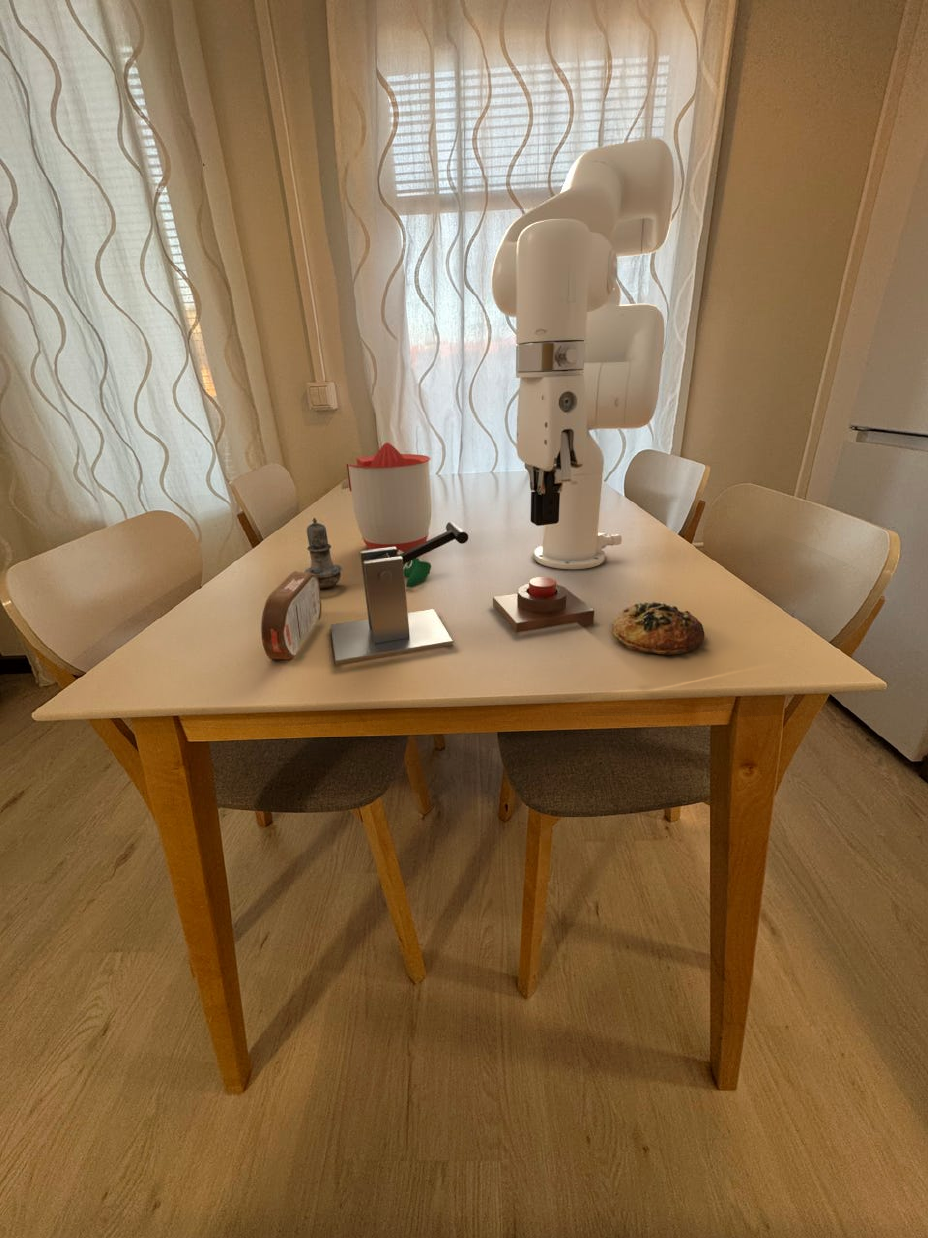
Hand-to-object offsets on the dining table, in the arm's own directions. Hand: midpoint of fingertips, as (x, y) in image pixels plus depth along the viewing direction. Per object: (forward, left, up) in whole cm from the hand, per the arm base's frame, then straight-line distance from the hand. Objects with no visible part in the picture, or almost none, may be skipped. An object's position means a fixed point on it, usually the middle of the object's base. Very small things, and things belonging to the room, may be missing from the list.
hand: (544, 522), depth 64 cm
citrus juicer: (+14, -40, -13) cm, 45 cm away
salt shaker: (+28, -20, -13) cm, 37 cm away
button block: (0, +1, -13) cm, 13 cm away
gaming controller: (+15, -20, -13) cm, 29 cm away
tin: (+32, -3, -13) cm, 35 cm away
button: (0, +1, -10) cm, 10 cm away
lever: (+16, +1, -3) cm, 17 cm away
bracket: (+21, +1, -13) cm, 25 cm away
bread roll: (-11, +11, -13) cm, 20 cm away
